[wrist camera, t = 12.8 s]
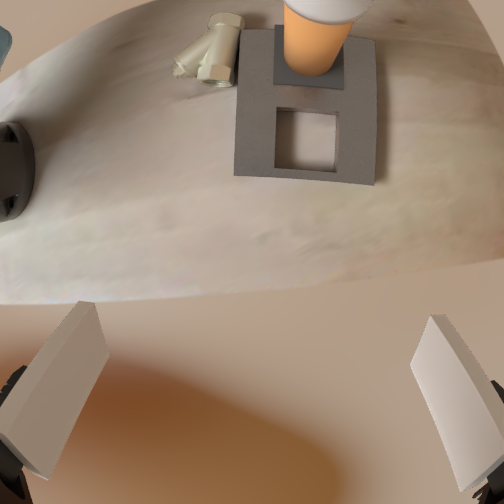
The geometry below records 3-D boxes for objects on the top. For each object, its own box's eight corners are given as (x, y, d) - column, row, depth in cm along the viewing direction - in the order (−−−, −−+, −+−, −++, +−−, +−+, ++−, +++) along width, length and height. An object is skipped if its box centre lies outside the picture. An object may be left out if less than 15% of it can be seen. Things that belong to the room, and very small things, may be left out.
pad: (273, 84, 27) (273, 83, 27) (274, 25, 26) (274, 24, 25) (343, 89, 27) (344, 89, 26) (342, 31, 25) (342, 30, 25)
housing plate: (236, 175, 32) (233, 175, 30) (243, 36, 28) (240, 29, 26) (368, 184, 31) (374, 185, 29) (370, 46, 27) (374, 40, 25)
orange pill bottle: (279, 78, 27) (277, 14, 13) (279, 29, 25) (277, -51, 12) (338, 83, 26) (378, 25, 13) (336, 33, 25) (368, -41, 11)
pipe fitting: (177, 86, 31) (235, 89, 30) (162, 77, 27) (225, 78, 26) (190, 27, 29) (246, 26, 28) (178, 13, 25) (239, 11, 24)
